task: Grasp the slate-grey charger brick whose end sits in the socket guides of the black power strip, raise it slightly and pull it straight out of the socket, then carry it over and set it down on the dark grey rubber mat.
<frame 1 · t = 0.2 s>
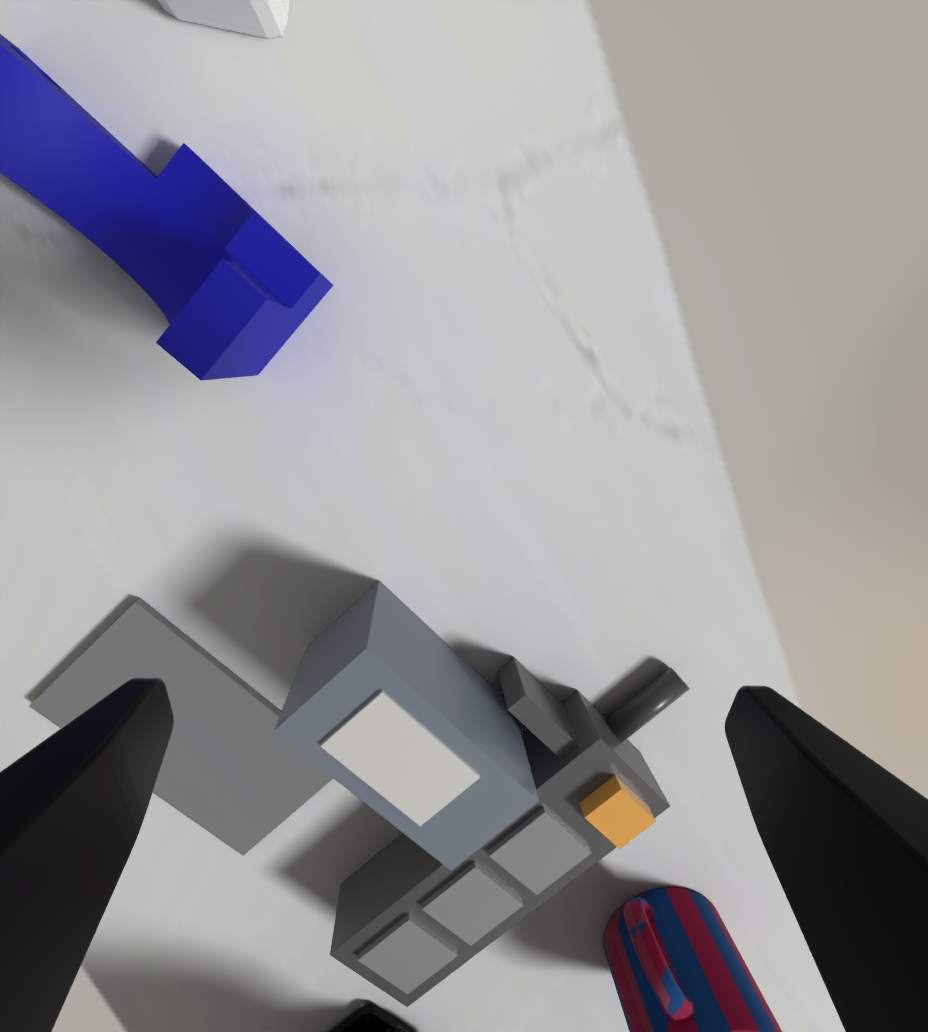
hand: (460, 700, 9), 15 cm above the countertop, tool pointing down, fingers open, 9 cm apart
mat: (196, 733, 25), on the countertop
charger: (414, 675, 26), on the countertop
power strip: (488, 819, 28), on the countertop
mug: (650, 908, 31), on the countertop
cable clip: (165, 211, 20), on the countertop
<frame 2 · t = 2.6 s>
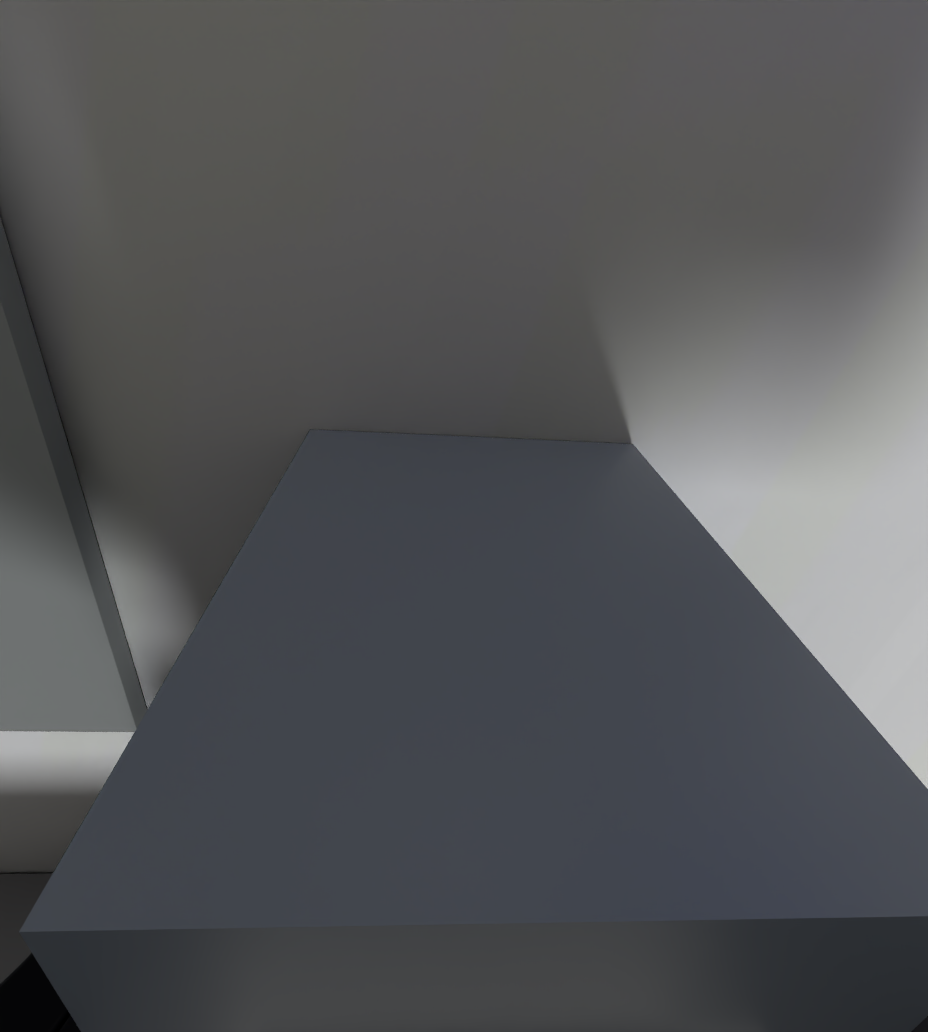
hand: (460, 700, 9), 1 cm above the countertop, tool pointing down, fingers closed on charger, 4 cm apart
charger: (456, 675, 10), on the countertop, touching gripper
power strip: (316, 928, 14), on the countertop
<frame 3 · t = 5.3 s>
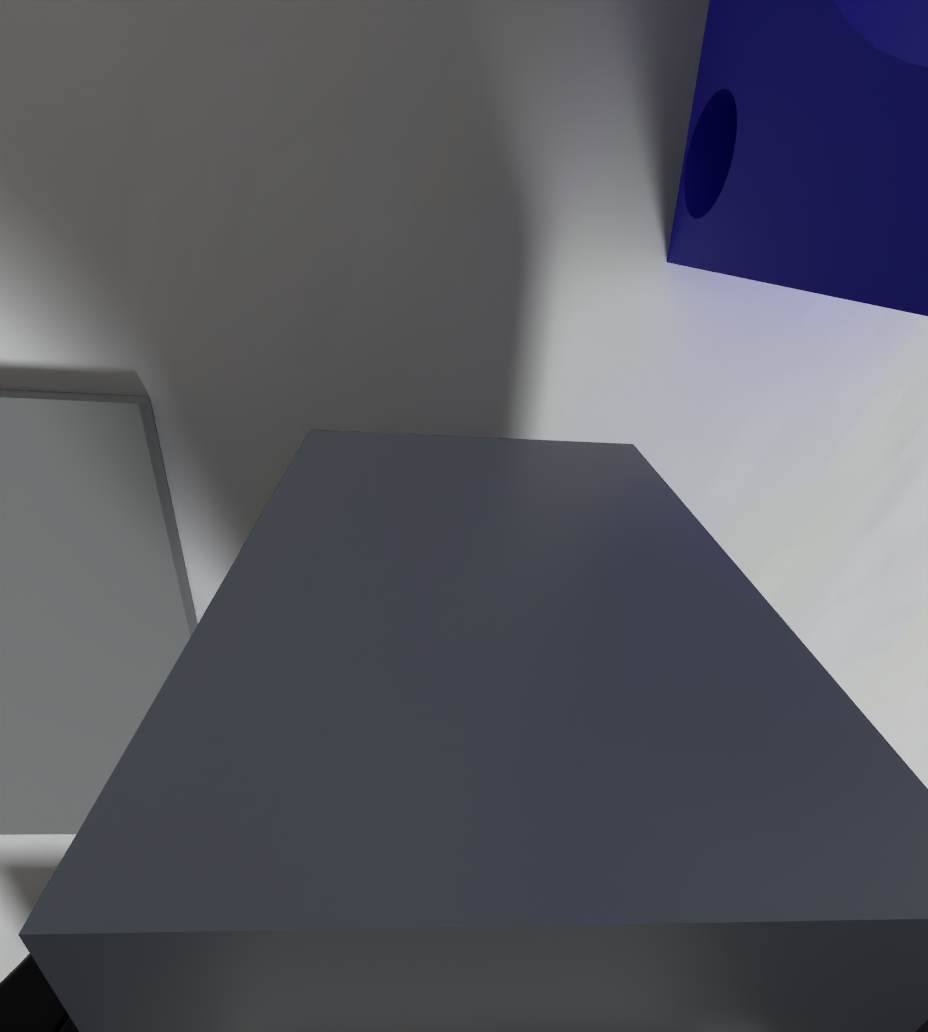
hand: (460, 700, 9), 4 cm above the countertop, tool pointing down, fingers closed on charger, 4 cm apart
mat: (42, 653, 12), on the countertop
charger: (456, 676, 10), point 2 cm above the countertop, touching gripper
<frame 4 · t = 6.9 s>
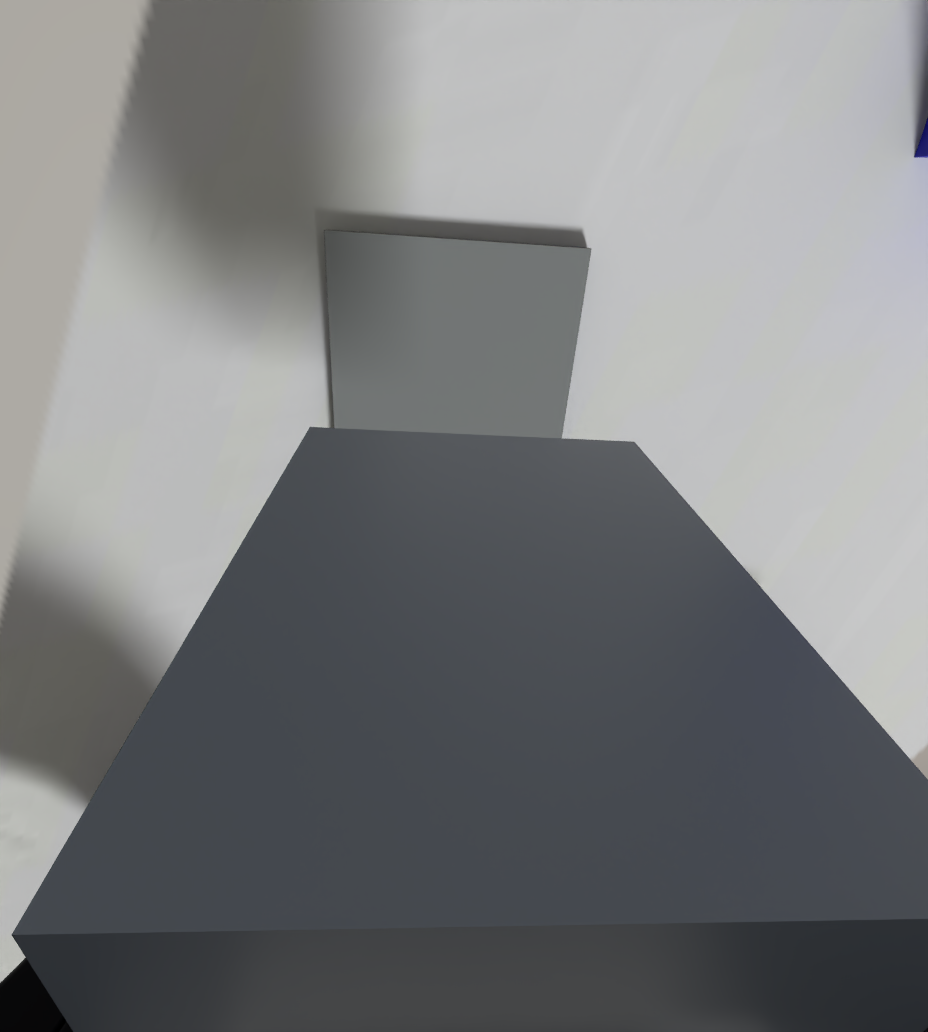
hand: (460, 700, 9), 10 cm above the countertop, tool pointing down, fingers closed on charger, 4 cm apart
mat: (448, 448, 18), on the countertop
charger: (456, 675, 10), point 9 cm above the countertop, touching gripper
when the fingers open (3 cm above the countertop, at t = 8.3 s): charger drops 1 cm, resting on mat.
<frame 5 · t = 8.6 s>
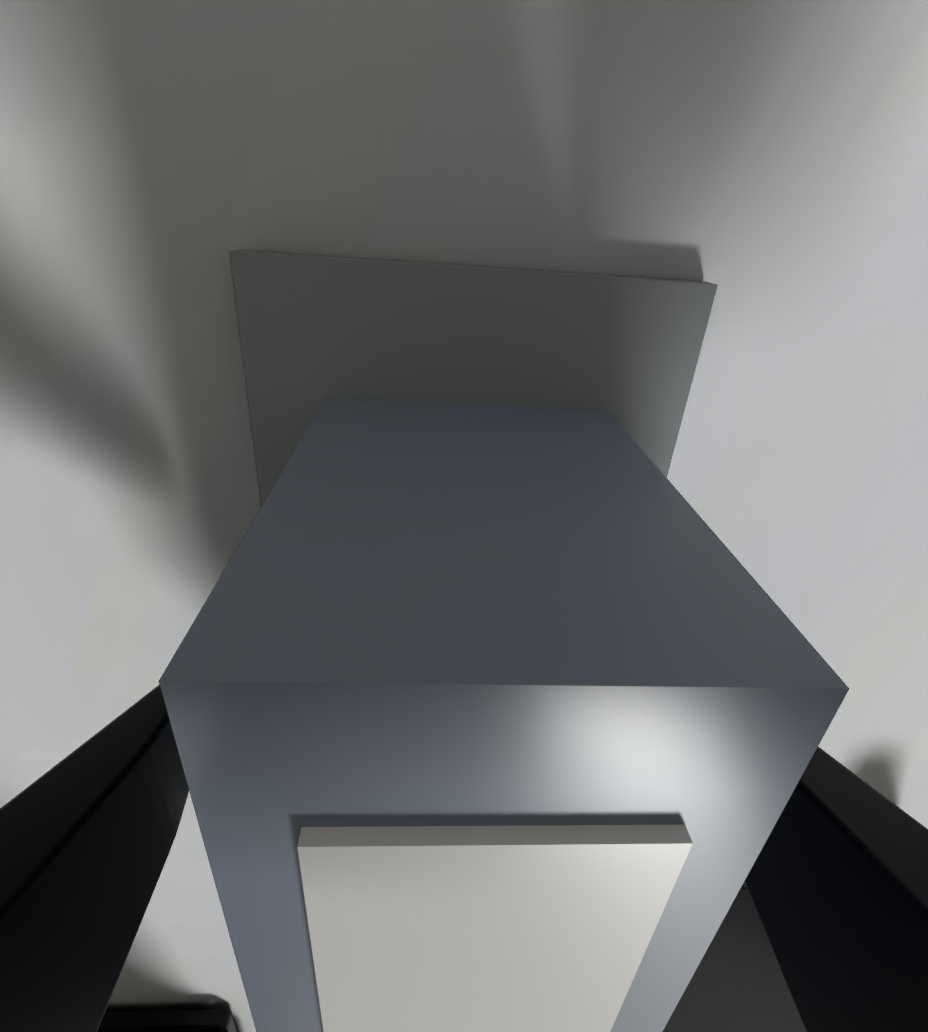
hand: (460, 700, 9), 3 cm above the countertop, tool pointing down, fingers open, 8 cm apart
mat: (455, 592, 11), on the countertop
charger: (454, 623, 11), resting on mat
power strip: (615, 932, 18), on the countertop
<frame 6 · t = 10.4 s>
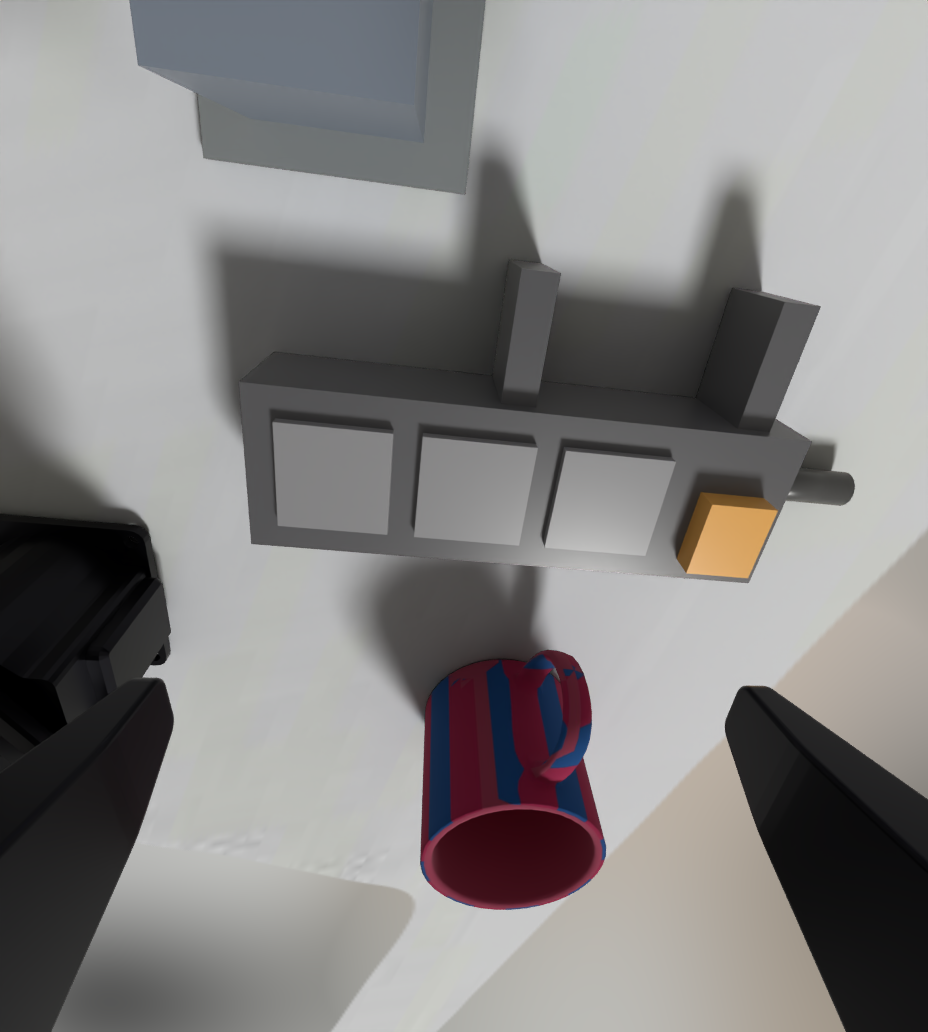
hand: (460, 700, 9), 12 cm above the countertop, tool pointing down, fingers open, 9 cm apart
power strip: (510, 449, 19), on the countertop
mug: (513, 684, 25), on the countertop
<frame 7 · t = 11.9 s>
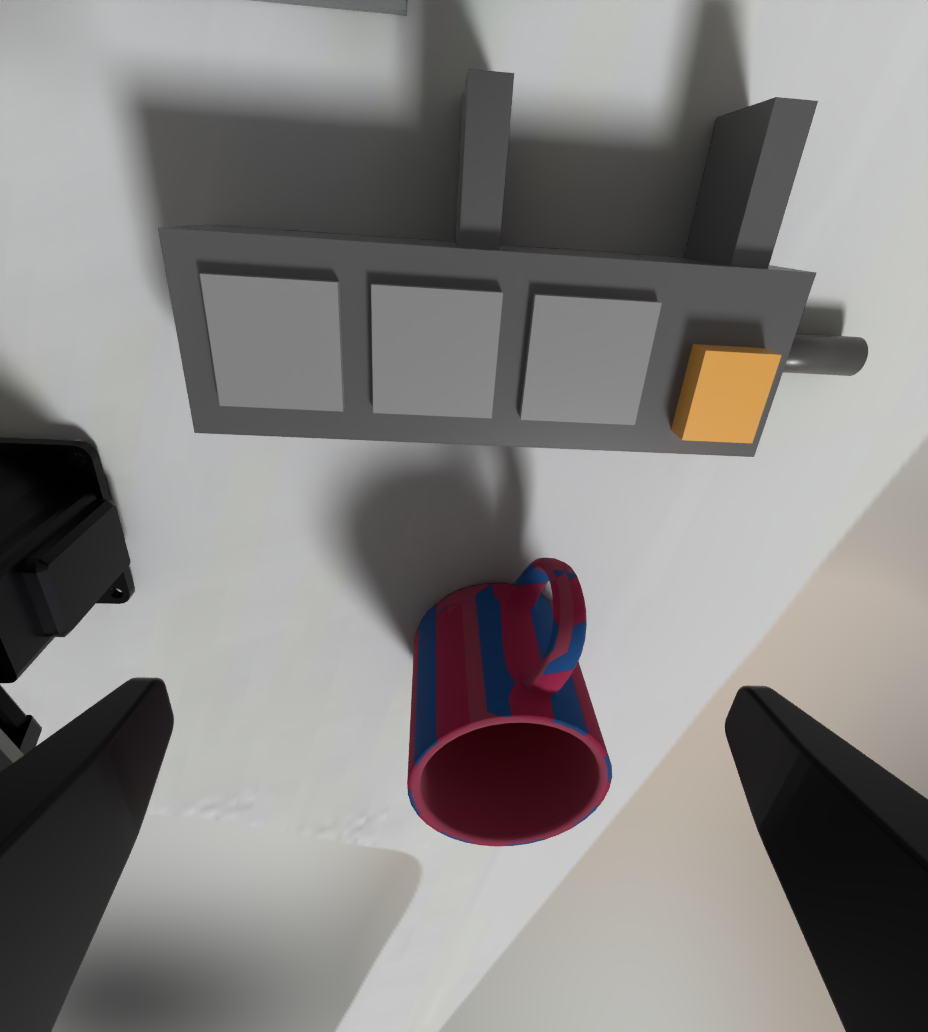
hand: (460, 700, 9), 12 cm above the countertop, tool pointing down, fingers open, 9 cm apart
power strip: (482, 331, 18), on the countertop
mug: (507, 613, 23), on the countertop
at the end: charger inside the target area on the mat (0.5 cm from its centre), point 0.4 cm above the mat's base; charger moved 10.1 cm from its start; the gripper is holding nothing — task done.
